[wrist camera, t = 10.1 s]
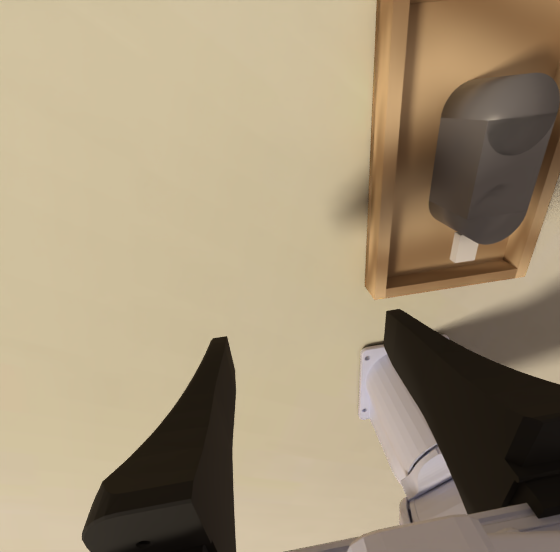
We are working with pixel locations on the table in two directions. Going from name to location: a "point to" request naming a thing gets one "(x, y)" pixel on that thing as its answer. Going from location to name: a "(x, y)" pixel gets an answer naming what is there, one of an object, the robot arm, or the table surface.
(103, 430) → the table surface
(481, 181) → the grey rounded long block
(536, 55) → the oak tray
